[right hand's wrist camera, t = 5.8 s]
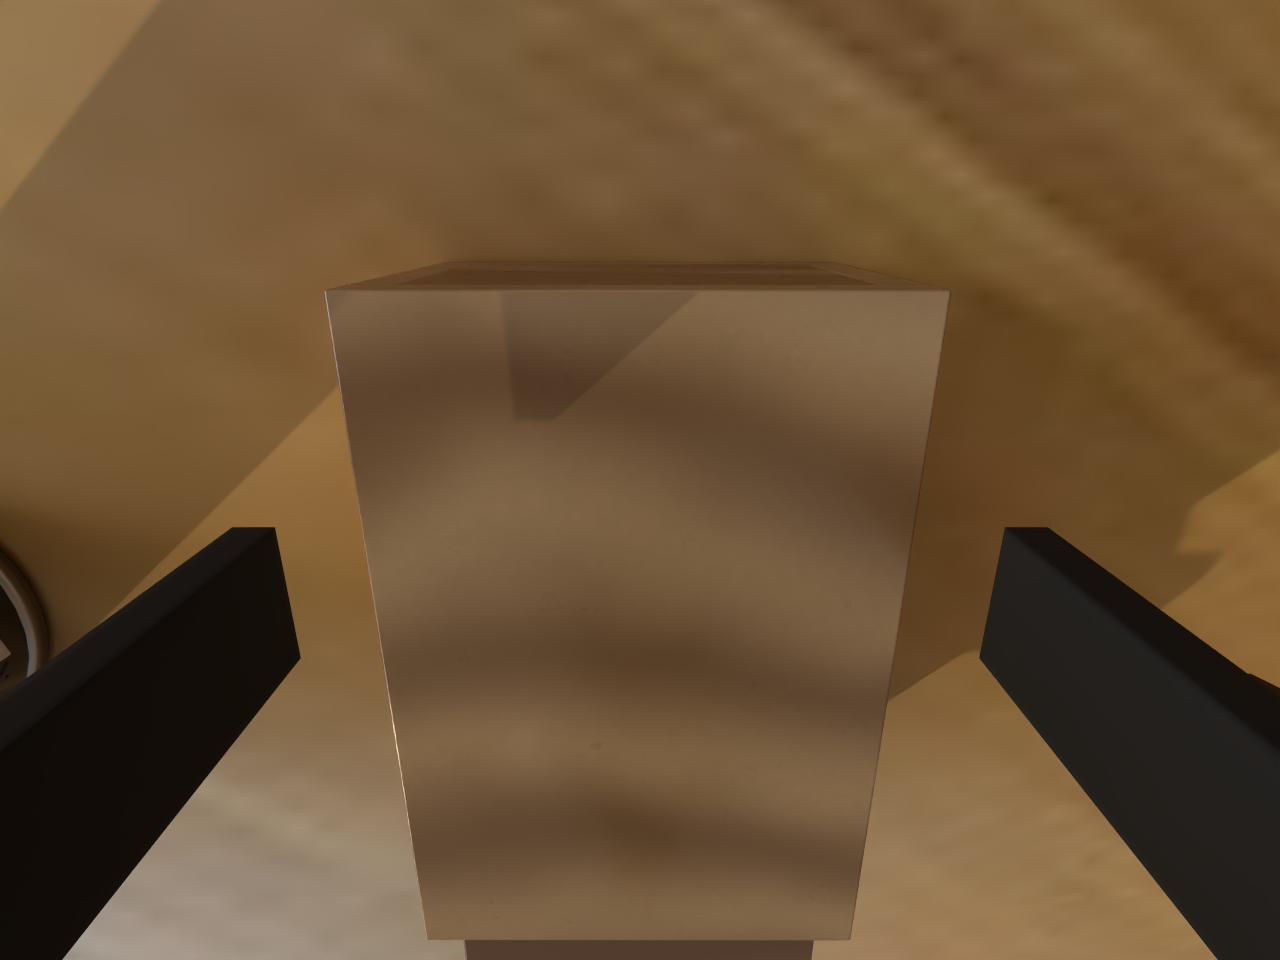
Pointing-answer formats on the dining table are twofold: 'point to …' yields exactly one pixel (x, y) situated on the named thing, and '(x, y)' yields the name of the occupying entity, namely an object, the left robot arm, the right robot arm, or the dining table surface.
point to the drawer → (638, 949)
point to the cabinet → (638, 581)
